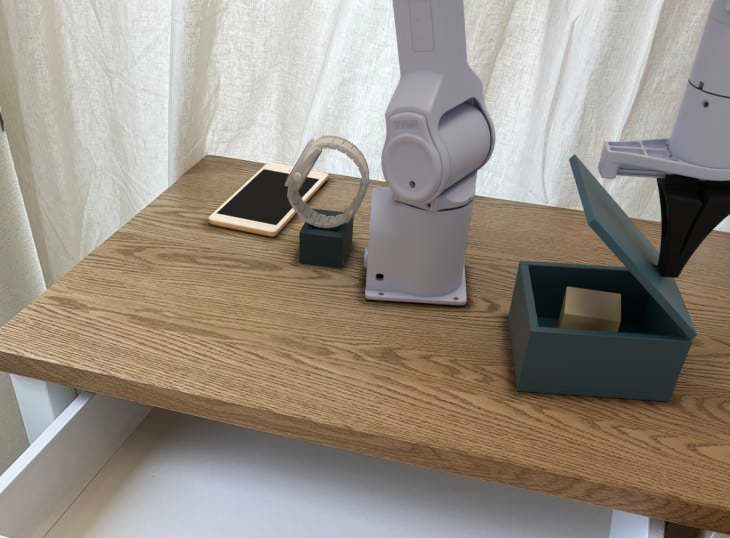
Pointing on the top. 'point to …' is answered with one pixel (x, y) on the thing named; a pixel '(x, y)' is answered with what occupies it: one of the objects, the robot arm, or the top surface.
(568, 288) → the block
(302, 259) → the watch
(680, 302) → the lid
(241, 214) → the cell phone
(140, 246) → the top surface
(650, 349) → the chest
